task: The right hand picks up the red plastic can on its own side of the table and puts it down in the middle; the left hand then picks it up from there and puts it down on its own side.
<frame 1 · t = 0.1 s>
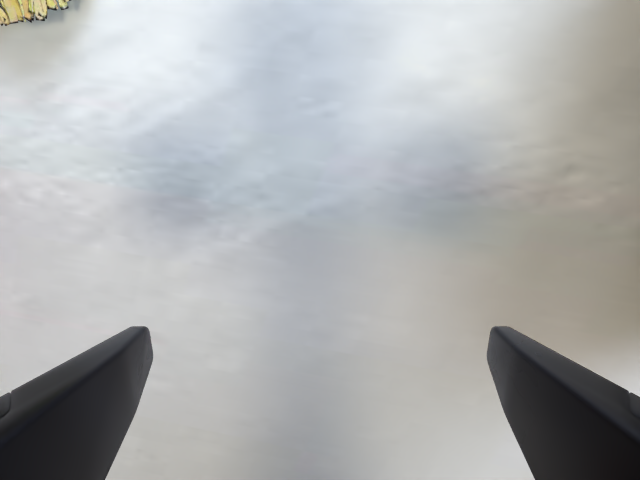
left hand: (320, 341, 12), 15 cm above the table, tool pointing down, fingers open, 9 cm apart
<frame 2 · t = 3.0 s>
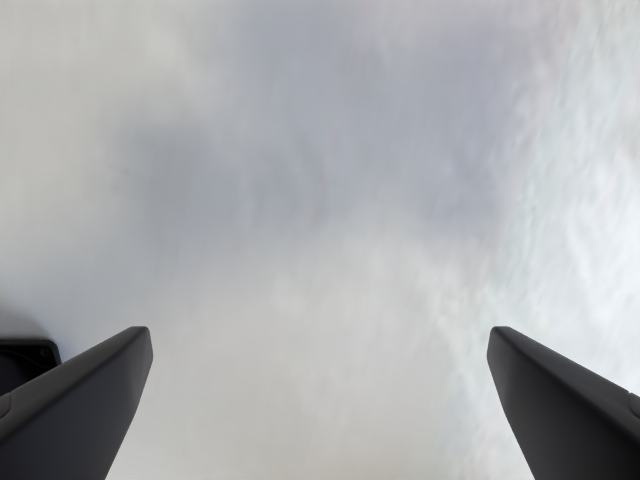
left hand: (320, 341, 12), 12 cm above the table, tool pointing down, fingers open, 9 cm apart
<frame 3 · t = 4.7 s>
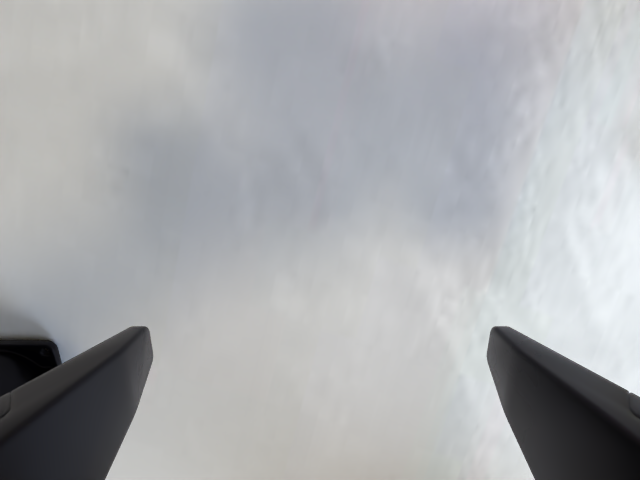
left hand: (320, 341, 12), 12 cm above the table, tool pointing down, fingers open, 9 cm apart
when the right hand's fingers open (2 cm above the table, at t = 6.6 s): can stays where it is, on the table.
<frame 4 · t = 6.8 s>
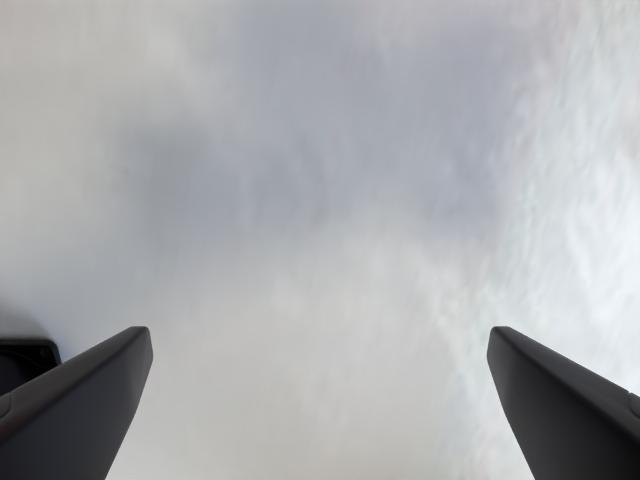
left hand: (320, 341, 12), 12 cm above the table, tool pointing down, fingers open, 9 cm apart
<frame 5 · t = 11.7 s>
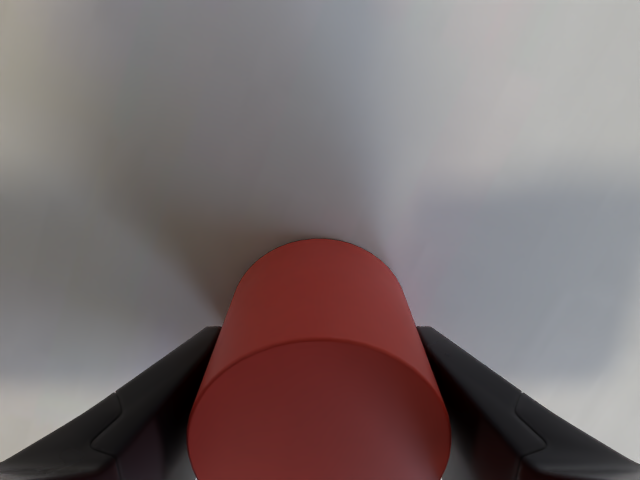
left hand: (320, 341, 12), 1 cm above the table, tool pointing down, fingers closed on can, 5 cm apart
can: (319, 319, 13), on the table, touching left hand
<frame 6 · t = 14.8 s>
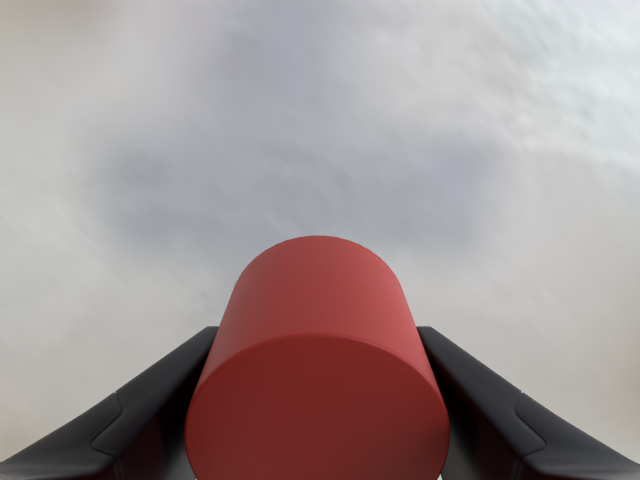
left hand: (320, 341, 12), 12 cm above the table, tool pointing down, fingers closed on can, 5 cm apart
can: (317, 316, 13), point 11 cm above the table, touching left hand
when the left hand's fingers open (2 cm above the table, at t = 17.7 s): can stays where it is, on the table.
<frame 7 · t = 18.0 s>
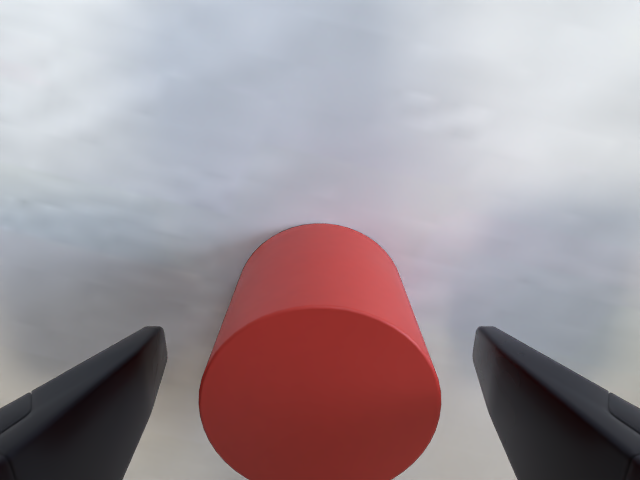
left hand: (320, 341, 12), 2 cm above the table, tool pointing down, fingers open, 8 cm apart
can: (319, 300, 13), on the table
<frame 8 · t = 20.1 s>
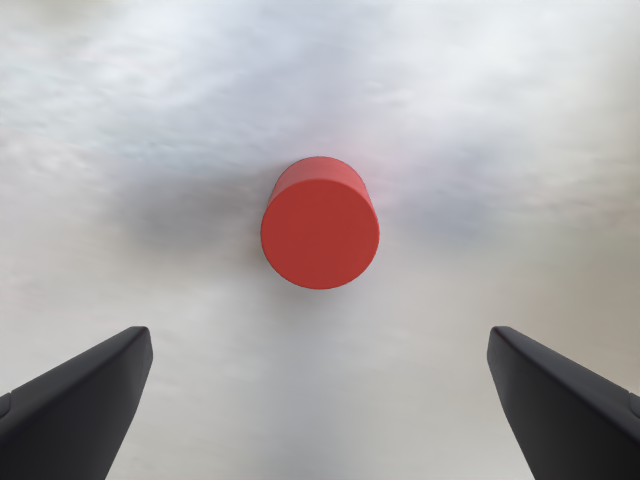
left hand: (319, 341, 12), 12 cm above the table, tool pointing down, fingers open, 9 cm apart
can: (320, 204, 23), on the table
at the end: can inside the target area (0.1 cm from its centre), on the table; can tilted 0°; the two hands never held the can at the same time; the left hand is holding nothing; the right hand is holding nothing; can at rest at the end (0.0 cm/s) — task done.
